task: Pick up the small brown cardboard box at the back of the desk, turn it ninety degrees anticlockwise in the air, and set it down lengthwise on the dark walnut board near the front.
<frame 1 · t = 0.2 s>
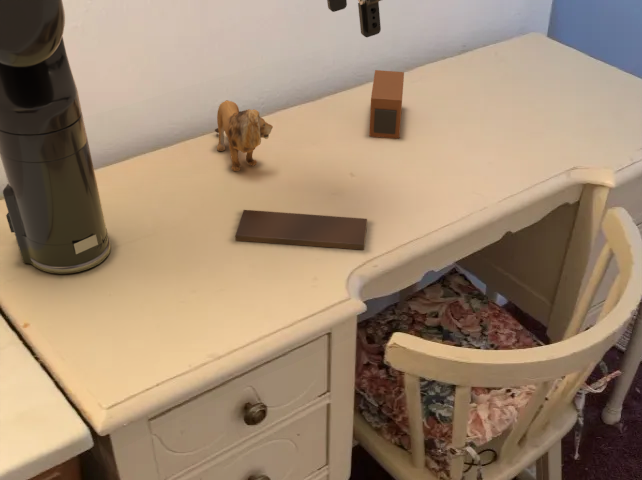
hand: (354, 21, 97), 23 cm above the table, tool pointing down, fingers open, 8 cm apart
walnut board: (302, 232, 106), on the table
lion figurine: (241, 158, 119), on the table
brown cardboard box: (385, 122, 129), on the table
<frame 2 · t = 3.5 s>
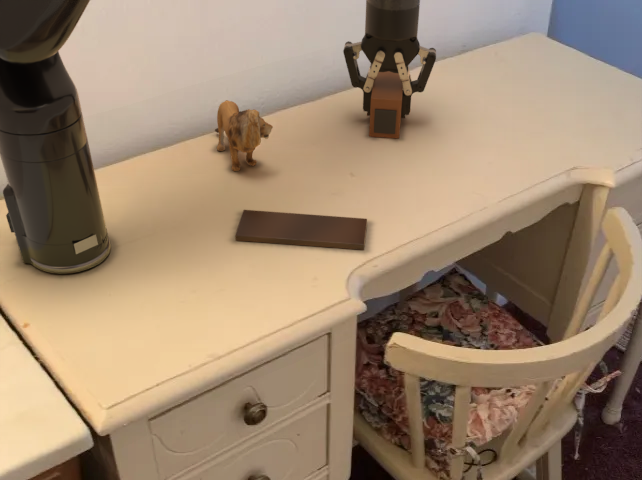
hand: (386, 114, 128), 1 cm above the table, tool pointing down, fingers closed on brown cardboard box, 4 cm apart
brown cardboard box: (385, 122, 129), on the table, touching gripper
everything else where it was.
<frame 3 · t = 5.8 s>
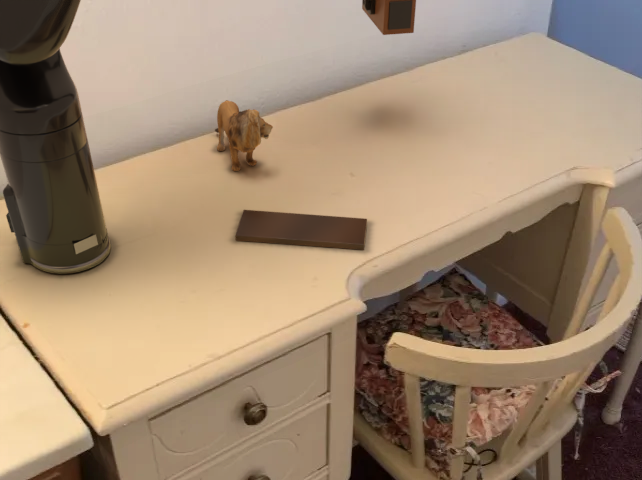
hand: (387, 11, 118), 16 cm above the table, tool pointing down, fingers closed on brown cardboard box, 4 cm apart
brown cardboard box: (387, 20, 119), point 15 cm above the table, touching gripper
everything else where it was.
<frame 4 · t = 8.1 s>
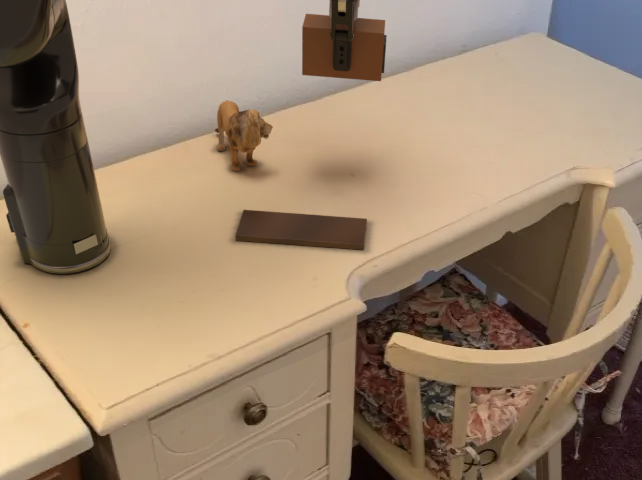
hand: (342, 60, 106), 16 cm above the table, tool pointing down, fingers closed on brown cardboard box, 4 cm apart
brown cardboard box: (342, 71, 107), point 14 cm above the table, touching gripper
everything else where it was.
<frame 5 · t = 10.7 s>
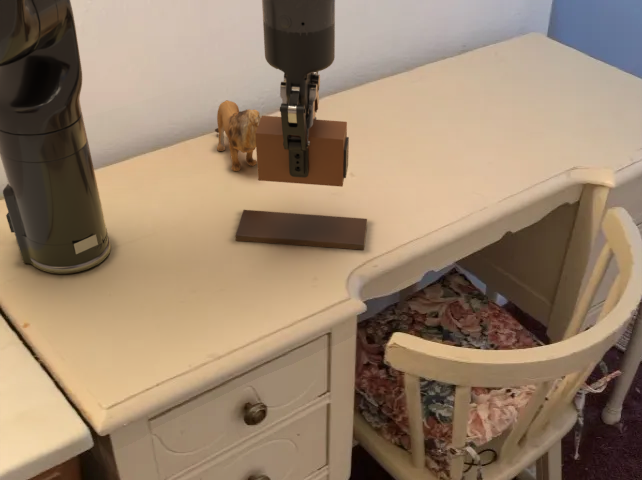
hand: (302, 164, 99), 10 cm above the table, tool pointing down, fingers closed on brown cardboard box, 4 cm apart
brown cardboard box: (302, 174, 100), point 8 cm above the table, touching gripper
everything else where it was.
when the fingers open (2 cm above the table, at t = 12.9 s): brown cardboard box stays where it is, resting on walnut board.
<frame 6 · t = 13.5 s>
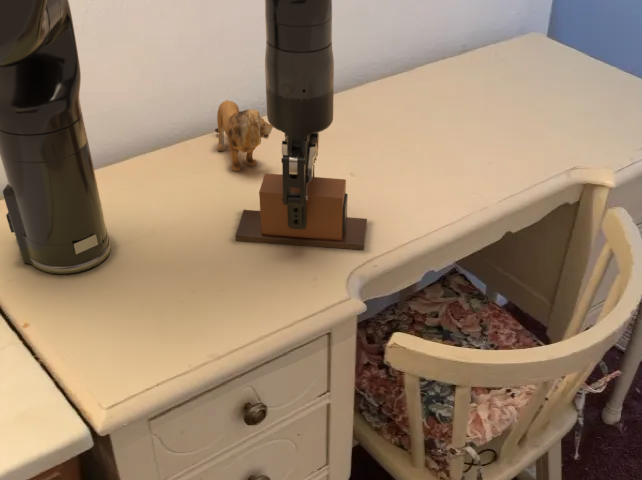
hand: (301, 208, 104), 3 cm above the table, tool pointing down, fingers open, 8 cm apart
brown cardboard box: (303, 227, 105), point 1 cm above the table, touching walnut board
everything else where it was.
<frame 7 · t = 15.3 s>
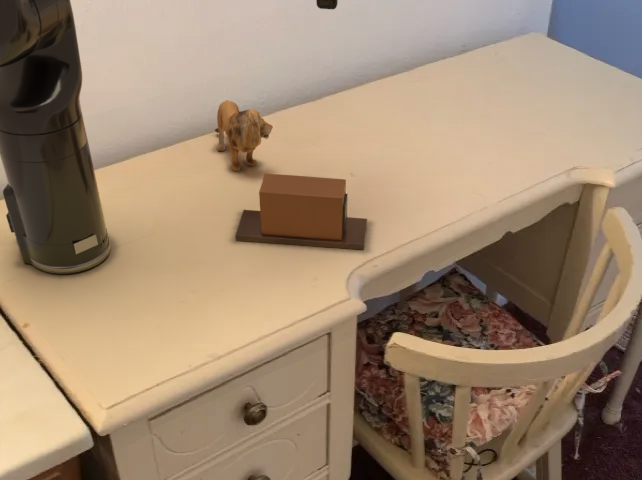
nothing on the table moved.
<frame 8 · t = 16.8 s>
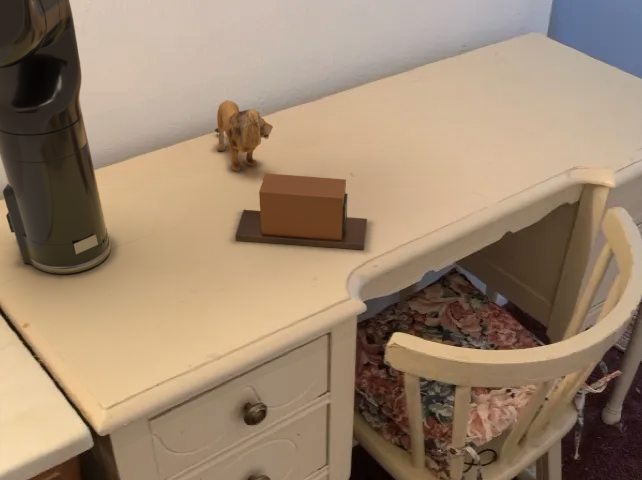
nothing on the table moved.
at the end: brown cardboard box inside the target area on the walnut board (0.3 cm from its centre), point 0.8 cm above the walnut board's base; brown cardboard box tilted 0°; the gripper is holding nothing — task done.
